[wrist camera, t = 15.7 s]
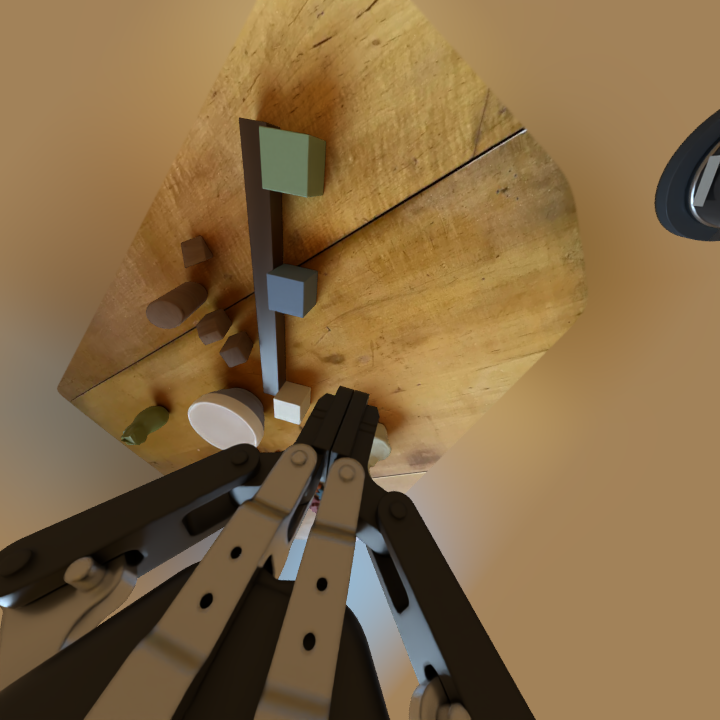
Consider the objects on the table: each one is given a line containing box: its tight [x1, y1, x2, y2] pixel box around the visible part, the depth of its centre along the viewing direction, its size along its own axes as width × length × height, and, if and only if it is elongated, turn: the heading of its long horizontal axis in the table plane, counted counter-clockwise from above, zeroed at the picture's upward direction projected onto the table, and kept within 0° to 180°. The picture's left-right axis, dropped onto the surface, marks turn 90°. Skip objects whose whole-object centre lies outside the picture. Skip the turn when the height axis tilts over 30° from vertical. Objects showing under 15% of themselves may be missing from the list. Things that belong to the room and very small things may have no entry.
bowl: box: [188, 388, 265, 450], centre depth 53 cm, size 14×14×8 cm
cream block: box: [273, 381, 311, 425], centre depth 49 cm, size 5×5×5 cm
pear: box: [121, 406, 169, 445], centre depth 61 cm, size 6×5×10 cm
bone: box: [368, 423, 391, 477], centre depth 51 cm, size 13×15×8 cm
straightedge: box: [239, 118, 286, 396], centre depth 38 cm, size 3×38×3 cm, turn 171°
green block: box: [259, 126, 326, 197], centre depth 28 cm, size 5×5×5 cm
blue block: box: [267, 263, 318, 318], centre depth 36 cm, size 5×5×5 cm
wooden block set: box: [146, 236, 253, 367], centre depth 39 cm, size 18×9×10 cm, turn 17°
